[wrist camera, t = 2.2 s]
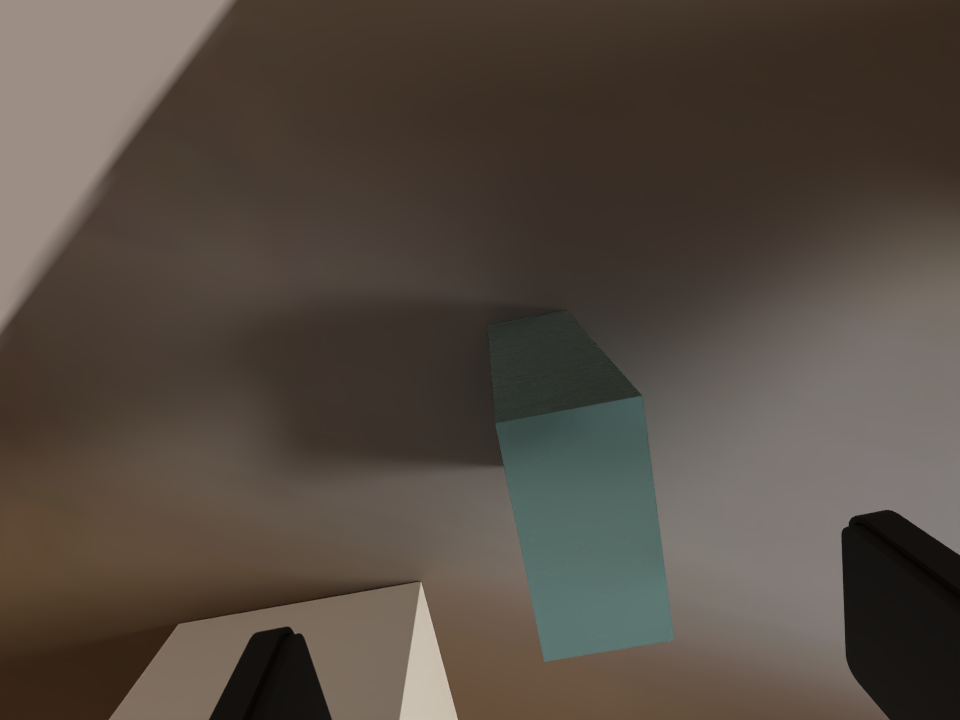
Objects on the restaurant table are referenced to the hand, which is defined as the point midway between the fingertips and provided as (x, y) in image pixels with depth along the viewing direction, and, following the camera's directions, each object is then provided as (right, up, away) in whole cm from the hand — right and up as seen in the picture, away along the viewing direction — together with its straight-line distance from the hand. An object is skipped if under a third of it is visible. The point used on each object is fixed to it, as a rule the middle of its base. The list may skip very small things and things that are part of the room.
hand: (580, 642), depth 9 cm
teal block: (+1, +4, +12) cm, 13 cm away
